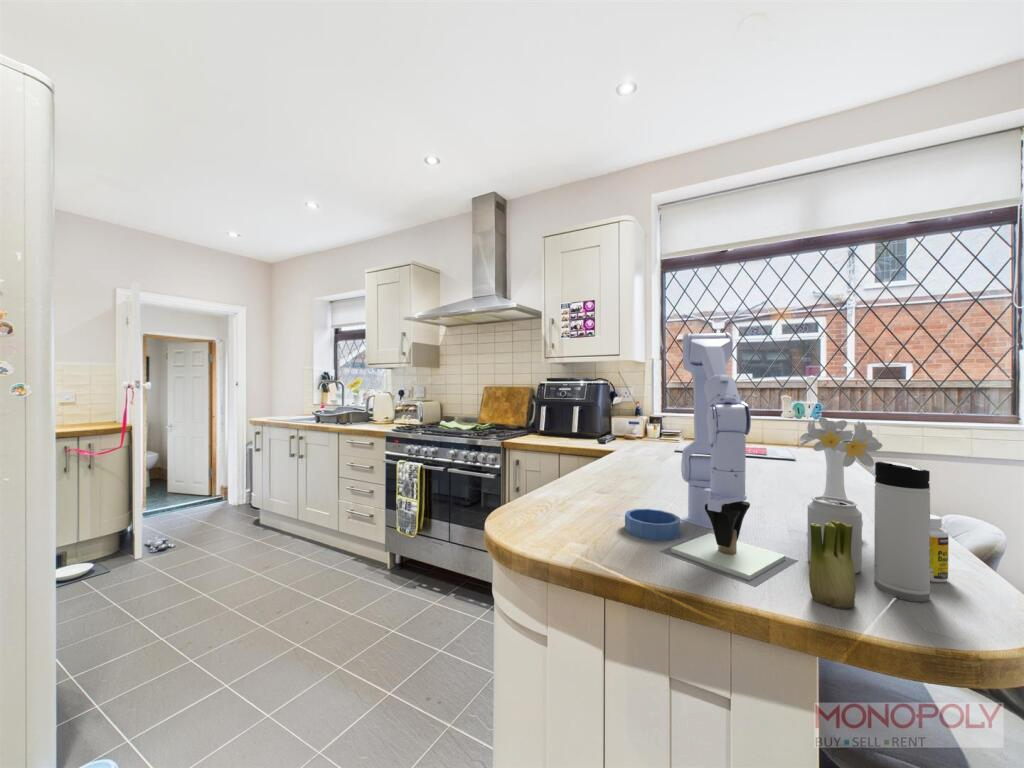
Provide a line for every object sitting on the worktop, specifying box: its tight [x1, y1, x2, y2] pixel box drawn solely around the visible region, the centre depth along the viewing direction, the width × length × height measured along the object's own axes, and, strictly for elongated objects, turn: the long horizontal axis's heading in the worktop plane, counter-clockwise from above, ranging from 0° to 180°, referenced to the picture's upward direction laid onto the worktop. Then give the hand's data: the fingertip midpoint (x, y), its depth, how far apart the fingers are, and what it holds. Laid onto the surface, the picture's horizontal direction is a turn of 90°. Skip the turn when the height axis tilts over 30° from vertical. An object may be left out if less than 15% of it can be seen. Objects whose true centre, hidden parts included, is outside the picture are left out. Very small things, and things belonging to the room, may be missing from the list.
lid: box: [671, 529, 787, 580], centre depth 76 cm, size 14×14×5 cm
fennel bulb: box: [808, 521, 857, 610], centre depth 60 cm, size 6×5×12 cm
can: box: [806, 495, 863, 575], centre depth 72 cm, size 8×8×12 cm
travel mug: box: [873, 461, 931, 603], centre depth 64 cm, size 6×7×20 cm
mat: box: [659, 533, 799, 588], centre depth 76 cm, size 17×17×1 cm
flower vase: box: [796, 416, 883, 528], centre depth 89 cm, size 13×18×25 cm
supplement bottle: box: [930, 513, 949, 583], centre depth 70 cm, size 6×6×10 cm
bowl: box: [624, 508, 681, 542], centre depth 89 cm, size 11×11×4 cm
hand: (727, 542), depth 76 cm, fingers open, 3 cm apart
